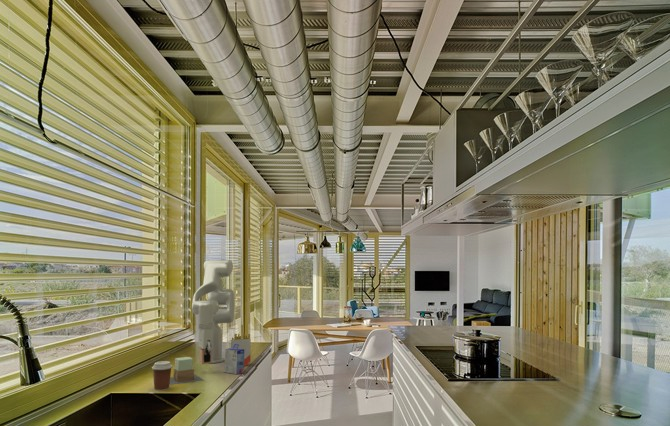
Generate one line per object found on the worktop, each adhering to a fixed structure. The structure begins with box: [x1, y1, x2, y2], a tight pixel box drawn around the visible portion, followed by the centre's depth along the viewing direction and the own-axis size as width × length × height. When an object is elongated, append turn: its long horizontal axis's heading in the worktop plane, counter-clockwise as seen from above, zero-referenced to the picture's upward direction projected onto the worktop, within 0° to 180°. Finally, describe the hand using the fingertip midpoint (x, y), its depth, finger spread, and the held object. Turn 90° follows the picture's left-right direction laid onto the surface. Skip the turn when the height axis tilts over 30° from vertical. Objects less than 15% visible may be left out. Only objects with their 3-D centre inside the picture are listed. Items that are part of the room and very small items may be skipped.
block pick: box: [199, 348, 213, 365], centre depth 251 cm, size 5×5×7 cm
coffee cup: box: [151, 360, 174, 391], centre depth 218 cm, size 9×9×12 cm
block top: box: [174, 356, 194, 371], centre depth 236 cm, size 7×7×5 cm
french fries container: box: [230, 333, 252, 367], centre depth 270 cm, size 5×11×18 cm, turn 103°
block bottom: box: [173, 367, 195, 382], centre depth 235 cm, size 8×8×5 cm
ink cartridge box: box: [224, 344, 245, 375], centre depth 252 cm, size 10×6×14 cm, turn 53°
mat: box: [169, 373, 205, 386], centre depth 235 cm, size 16×16×1 cm
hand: (205, 360), depth 250 cm, fingers closed on block pick, 5 cm apart
